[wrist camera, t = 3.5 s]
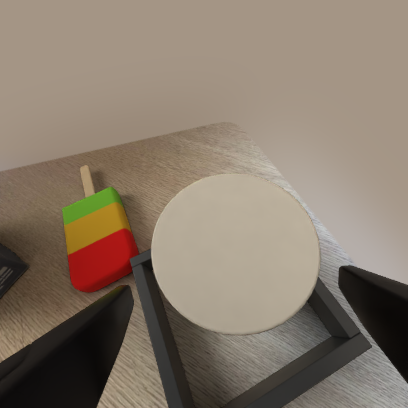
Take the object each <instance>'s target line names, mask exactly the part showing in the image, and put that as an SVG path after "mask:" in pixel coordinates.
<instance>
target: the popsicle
mask: <svg viewBox="0 0 408 408" xmlns="http://www.w3.org/2000/svg"><path fill="white" fill-rule="evenodd" d="M80 172H81V177H82V181H83V186H84V191H85V196H86V198H84V199H82V200H80V201H78V202H76V203H73V204H71V205H69V206H67V207H65V208H62V212H63V220H64V229H65V237H66V245H67V254H68V262H69V271H70V279H71V283H72V285H73V286H74V288H75V289H77V290H80V291H82V292H94V291H97V290H99V289H101V288H103V287H105V286H107V285H109V284H111V283H112V282H114V281H116V280H118V279H120V278H122V277H124V276H126V275H127V274H129V273H131V272H132V271H133V270H132V266H131V262H130V259H131V258H133V257H135V256H137V255H139V252H138V249H137V246H136V243H135V240H134V237H133V234H132V231H131V228H130V225H129V222H128V219H127V216H126V213H125V210H124V207H123V204H122V201H121V198H120V195H119V194H118V192H117V191H116V190H115V189H114V188H113V187H109V188H107V189H104V190H102V191H100V192H98V193H95V189H94V185H93V181H92V177H91V173H90V169H89V167H88V166H87V165H85V166H83V167H81V168H80Z"/></svg>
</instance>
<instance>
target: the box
mask: <svg viewBox="0 0 408 408" xmlns="http://www.w3.org/2000/svg"><path fill="white" fill-rule="evenodd" d="M28 267H29V265H28V264H26V263H25V262H23V261H22V260H21V259H20V258H19V257H18V256H17V255H16V254H15V253H14V252H12V251H11V250H10V249H7V247H5V246H3V245H2V244H1V243H0V298H1V297H2V295H3V294H4V293H5V292H6V291H7V290H8V289H9V288H10V286H11V285H12V284H13V283H14V282H15V281H16V280H17V279H18V278H19V277H20V276H21V275H22V274H23V273H24V272H25V271H26V269H27V268H28Z"/></svg>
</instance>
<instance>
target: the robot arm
mask: <svg viewBox="0 0 408 408" xmlns="http://www.w3.org/2000/svg"><path fill="white" fill-rule="evenodd" d="M338 285H339V288H340V290H341V292H342V294H343V295H344V297H345V298H346V300H347V301H348V303H349V304H350V306H351V308H352V309H353V311H354V312H355V314H356V315H357V317H358V319H359V320H360V322H361V323H362V325H363V326H364V327H365V329H366V330H367V331H368V333H369V334H370V335H371V337H372V338H373V339H374V341H375V342H376V343H377V344H378V346H379V347H380V348H381V350H382V351H383V352H384V353H385V355H386V356H387V357H388V359H389V360H390V361H391V363H392V364H393V365H394V366H395V368H396V369H397V370H398V372H399V373H400V374H401V376H402V377H403V378H404V379H405V381H406V382H407V383H408V285H406V284H403V283H400V282H398V281H395V280H391V279H389V278H386V277H383V276H380V275H377V274H375V273H372V272H368V271H366V270H363V269H360V268H357V267H354V266H351V265H348V266H341V267H340V268H339V277H338ZM133 306H134V299H133V295H132V291H131V288H130V286H129V285H121V286H118V287H117V288H115V289H114V290H112V291H111V292H109V293H108V294H106V295H105V296H103V297H102V298H100V299H98V300H97V301H95V302H94V303H92V304H91V305H89V306H88V307H86V308H85V309H83V310H81V311H80V312H78V313H77V314H75V315H74V316H72V317H71V318H69V319H68V320H66V321H64V322H63V323H61V324H60V325H58V326H57V327H55V328H54V329H52V330H51V331H49V332H47V333H46V334H44V335H43V336H41V337H40V338H38V339H37V340H35V341H34V342H32V344H29V345H27V346H26V347H24V348H23V349H21V350H20V351H18V352H16V353H15V354H13V355H12V356H10V357H9V358H7V359H5V360H4V361H2V362H1V363H0V408H97V405H98V403H99V400H100V398H101V395H102V393H103V390H104V388H105V385H106V383H107V380H108V378H109V375H110V373H111V370H112V368H113V365H114V363H115V360H116V358H117V355H118V353H119V350H120V348H121V345H122V343H123V340H124V337H125V333H126V330H127V327H128V323H129V320H130V316H131V313H132V310H133Z"/></svg>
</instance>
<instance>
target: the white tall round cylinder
mask: <svg viewBox="0 0 408 408" xmlns="http://www.w3.org/2000/svg"><path fill="white" fill-rule="evenodd" d="M151 257H152V266H153V270H154V274H155V277H156V280H157V282H158V284H159V287H160V289H161V290H162V292H163V294H164V295H165V297H166V298H167V300H168V301H169V302H170V303H171V305H172V306H173V307H174V308H175V309H176V310H177V311H178V312H179V313H180V314H181V315H182V316H184V317H185V318H187V319H188V320H190V321H191V322H192V323H194V324H196V325H198V326H200V327H202V328H204V329H207V330H210V331H213V332H216V333H221V334H227V335H251V334H258V333H261V332H265V331H268V330H271V329H273V328H275V327H277V326H279V325H281V324H283V323H285V322H286V321H287V320H289V319H290V318H291V317H293V316H294V315H295V314H296V313H297V312H298V311H299V310H300V309H301V308H302V307H303V306H304V304H305V303H306V302H307V300H308V299H309V297H310V296H311V294H312V292H313V289H314V287H315V285H316V282H317V279H318V275H319V270H320V262H321V256H320V245H319V239H318V236H317V233H316V229H315V227H314V225H313V223H312V220H311V218H310V217H309V215H308V214H307V212H306V211H305V209H304V208H303V207H302V205H301V204H300V203H299V202H298V201H297V200H296V199H295V198H294V197H293V196H292V195H291V194H290V193H288V192H287V191H286V190H284V189H283V188H281V187H280V186H278V185H276V184H274V183H272V182H270V181H268V180H266V179H263V178H260V177H257V176H252V175H247V174H239V173H228V174H219V175H213V176H210V177H206V178H203V179H201V180H198V181H196V182H194V183H192V184H190V185H189V186H187V187H186V188H184V189H183V190H181V191H180V192H179V193H178V194H177V195H175V196H174V197H173V199H172V200H171V201H170V202H169V203H168V204H167V206H166V207H165V208H164V210H163V211H162V213H161V215H160V217H159V219H158V221H157V224H156V226H155V230H154V233H153V238H152V245H151Z"/></svg>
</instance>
